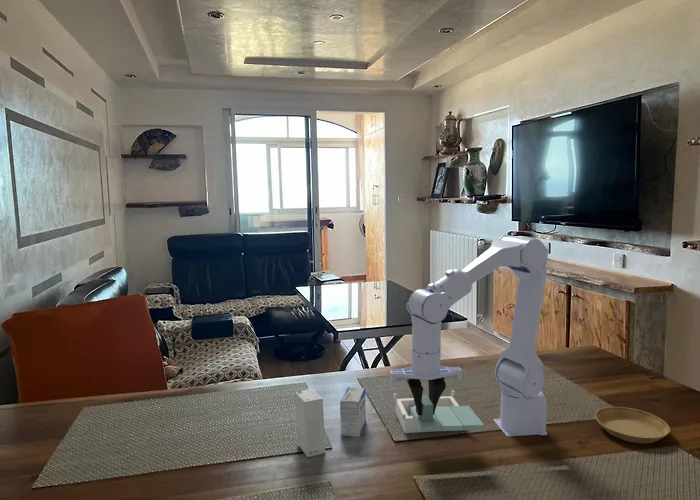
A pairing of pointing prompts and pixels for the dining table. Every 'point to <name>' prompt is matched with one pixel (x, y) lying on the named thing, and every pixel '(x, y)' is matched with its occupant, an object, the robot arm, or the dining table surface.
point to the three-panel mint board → (445, 417)
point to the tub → (403, 405)
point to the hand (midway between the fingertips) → (425, 413)
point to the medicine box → (353, 411)
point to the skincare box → (310, 422)
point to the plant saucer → (632, 424)
